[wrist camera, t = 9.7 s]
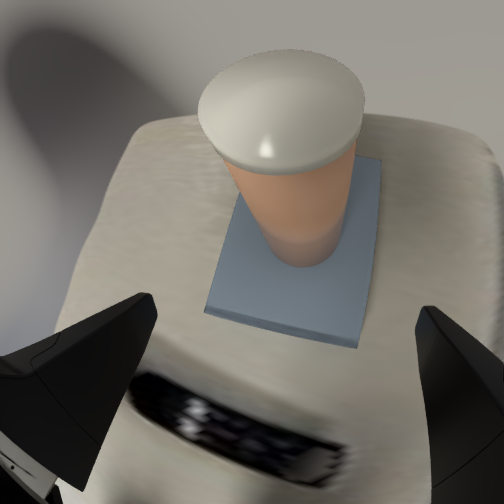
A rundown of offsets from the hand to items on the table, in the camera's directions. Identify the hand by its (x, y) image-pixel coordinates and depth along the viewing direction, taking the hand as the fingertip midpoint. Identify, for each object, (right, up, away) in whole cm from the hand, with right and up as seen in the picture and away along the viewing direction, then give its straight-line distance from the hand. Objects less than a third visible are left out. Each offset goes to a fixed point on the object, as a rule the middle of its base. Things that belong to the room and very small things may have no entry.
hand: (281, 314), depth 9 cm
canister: (+3, +3, +12) cm, 13 cm away
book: (+3, +3, +15) cm, 15 cm away
